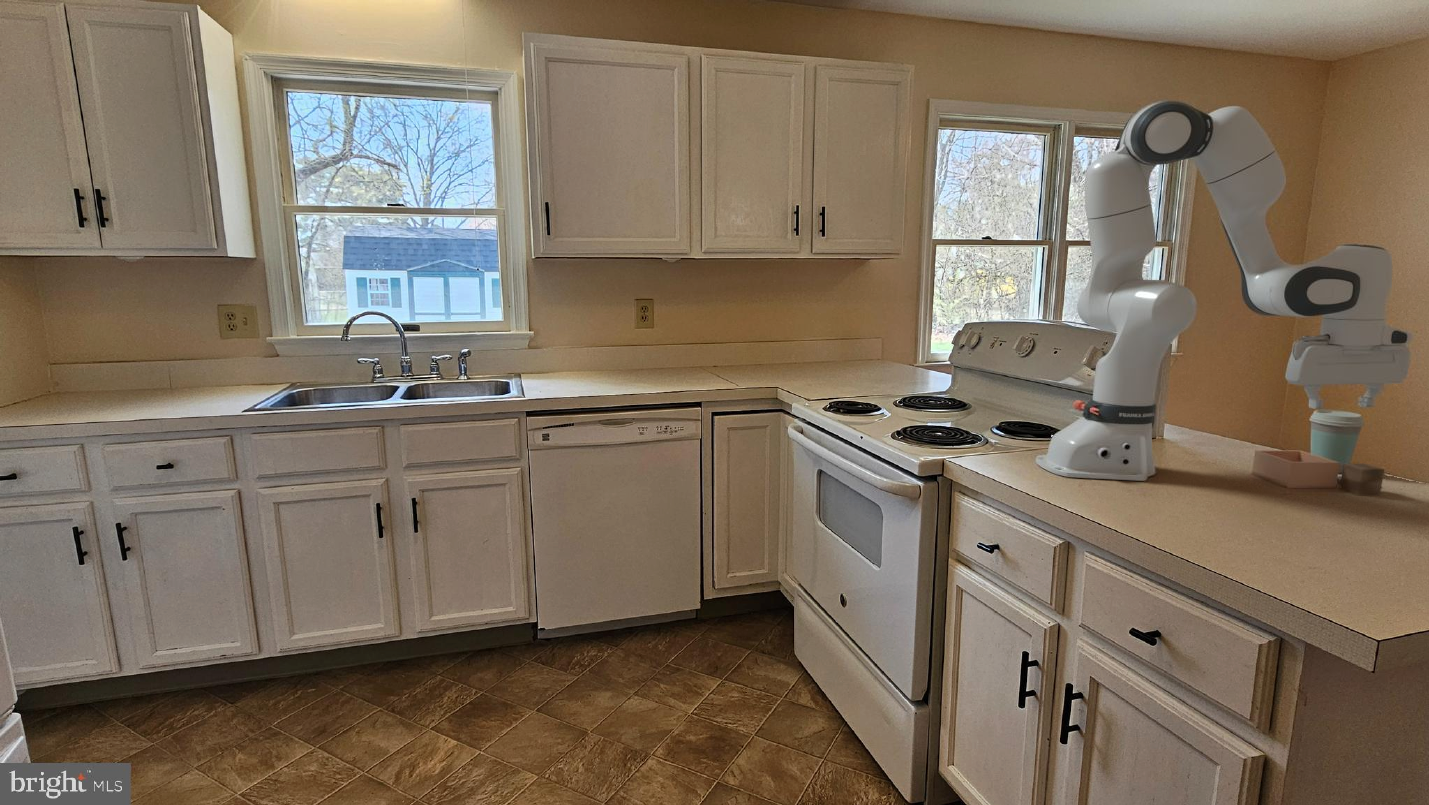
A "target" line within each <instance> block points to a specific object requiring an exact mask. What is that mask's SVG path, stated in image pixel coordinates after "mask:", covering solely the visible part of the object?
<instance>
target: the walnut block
mask: <svg viewBox="0 0 1429 805" xmlns="http://www.w3.org/2000/svg"><path fill="white" fill-rule="evenodd" d="M1384 473H1385V469H1384V468H1381V467H1379V466H1374V465H1371V464H1367V463H1350V464H1344V465H1343V471H1342V473H1341V476H1342V477H1341V483H1339V484H1340V485H1339V490H1342V491H1344V492H1348V493H1350V494H1354V495H1357V496H1380V495H1381V491H1382V485H1383V479H1384Z"/></svg>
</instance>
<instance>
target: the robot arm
mask: <svg viewBox="0 0 1429 805" xmlns="http://www.w3.org/2000/svg"><path fill="white" fill-rule="evenodd" d="M1182 160H1188V161H1190V162H1192V163H1193V165H1194V166H1195V167H1196V169H1198V171H1199V173H1200V175H1201V178H1202V179H1203V182H1204V183H1205V185H1206V187H1207V189H1208V192H1209V194H1210V195H1211V198H1212V199H1213V201H1214V202H1213V203H1215V205H1216V208H1217V210H1218V211H1217V212H1218V214H1219V218H1220V224H1221V225H1222V228H1223V231H1224V233H1225V236H1226V239H1227V241H1228V243H1229V246H1230V249H1231V250H1232V253H1233V256H1234V258H1235V261H1236V263H1237V266H1238V270H1239V271H1240V276H1241V295H1242V300H1243V302H1244V304H1245V306H1246V307H1248V309H1250V310H1251V311H1252V313H1253V312H1254V313H1256V314H1258V315H1261V316H1267V317H1268V316H1269V317H1273V316H1284V317H1291V318H1292V317H1297V318H1313V317H1318V316H1322V318H1321V326H1320V332H1319V334H1316V335H1302V336H1301V337H1300V338H1298V339H1297V340H1295V341H1294V342H1293V344H1292V350H1291V353H1290V356H1289V359H1288V362H1287V366H1286V370H1285V375H1284V376H1285V381H1286V382H1287V383H1288V384H1291V385H1295V386H1303V387H1304V388H1303V390H1304V391H1305V393H1306V396H1307V398H1308V408H1309V409H1314V410H1323V409H1324V408H1325V405H1324V404H1325V401H1326V400H1325V399H1324V398H1323V399H1322V398H1321V397H1320V395H1319V392H1320V391H1322V386H1338V385H1341V386H1343V385H1365V388H1366V389H1367V390H1366V392H1365V393H1364V394H1363V396H1359V397H1358V403H1357V406H1358V407H1361V408H1373V407H1375V400H1376V399H1377V398H1378V396H1379V395H1380V394H1381V393H1382V392H1383V390H1384V386H1385V384H1387V385H1388V384H1401V383H1403V382H1404V381H1405V380H1406V379H1407V377H1408V375H1409V369H1410V361H1411V350H1410V348H1409V347H1408V345H1410V344H1411V343H1412V340H1413V334H1412V333H1411V332H1409V331H1407V330H1403V329H1399V328H1397V327H1393V326H1390V325H1386V322H1387V313H1386V303H1387V302H1388V299H1389V297H1390V295H1391V289H1392V281H1393V258H1392V256H1391V253H1390V251H1388V250H1387V249H1385V248H1384V247H1380V246H1376V245H1370V244H1357V243H1355V244H1354V243H1353V244H1346V243H1345V244H1341V245H1339V246H1337V247H1336V248H1335V249H1334V250H1332V251H1330V252H1329V253H1327V254H1325V255H1323V256H1321V257H1319V258H1316V259H1314V260H1311V261H1307V262H1305V263H1304V264H1301V263H1300V264H1290V263H1288V262H1286V261H1284V260H1283V259H1282V258H1280V256H1279V255H1278V252H1277V250H1276V247H1275V245H1274V241H1273V239H1272V237H1271V235H1270V232H1269V230H1268V227H1267V223H1266V216H1267V212H1268V211H1269V209H1270V207H1271V206H1273V205H1274V204H1275V203H1276V201H1278V199H1279V198H1280V197H1281V196H1282V194H1283V192H1284V189H1286V188H1285V187H1286V184H1287V178H1286V177H1287V176H1286V171H1285V167H1284V165H1283V162H1282V160H1281V157H1280V156H1279V154H1278V151H1277V150H1276V148H1275V147H1274V144H1273V143H1272V141H1271V139H1270V138H1269V136H1268V134H1267V133H1266V131H1265V130H1264V129H1263V127H1262V126H1261V125H1260V123H1259V122H1258V121H1257V119H1256V118H1255V117H1254V115H1252V114H1251V112H1249V110H1248V109H1246V108H1245V107H1242V106H1239V105H1231V106H1224V107H1221V108H1218V109H1216V110H1213V111H1211V112H1210V113H1206V112H1203V111H1202V110H1199V108H1195V107H1193V105H1190V104H1188V103H1186V102H1182V101H1178V100H1159V101H1155V102H1152V103H1149V104H1147V105H1145V106H1143V107H1141V108H1139V110H1137V111H1136V112H1134V113H1133V114H1132V115H1131V116H1130V118H1129V119H1128V120H1127V122H1126V123H1125V125H1124V126H1123V129H1122V132H1121V133H1120V137H1119V139H1118V141H1117V144H1116V146H1115V149H1114V151H1112V152H1109V153H1106V154H1103V155H1101V156H1099V157H1098V158H1097V159H1095V160H1094V161H1092V162H1091V163H1090V164H1089V166H1088V167H1087V169H1086V171H1085V177H1084V178H1085V179H1084V204H1085V214H1086V220H1087V226H1088V235H1089V241H1090V249H1091V265H1090V272H1089V278H1088V282H1087V284H1086V286H1085V288H1083V290H1082V292H1080V294H1079V296H1078V300H1077V304H1076V308H1077V314H1078V316H1079V318H1080V319H1081V321H1082V322H1084V323H1085V324H1086V325H1088V326H1090V327H1092V328H1095V329H1097V330H1099V331H1101V332H1102V331H1103V332H1107V333H1115V334H1116V336H1115V339H1114V342H1113V344H1112V345H1111V348H1110V350H1109V351H1108V352H1107V354H1105V355H1103V356H1102V357H1101V358H1099V359H1098V360H1097V362H1096V365H1095V371H1094V372H1095V373H1094V380H1093V381H1094V382H1093V391H1092V398H1091V399H1090V400H1089V401H1088V402H1087V403H1086V402H1084V401H1081V400H1079V399H1077V400H1074V402H1073V404H1072V408H1073V409H1074V410H1078V411H1079V412H1083V413H1082V417H1080V418H1078V419H1076V420H1075V421H1074V422H1072V423H1071V424H1069V425H1068V426H1066V427H1064V428H1063V429H1062V428H1061V429H1060V430H1059V431H1057V432H1056V433H1054V434H1053V436H1052V437H1051V439H1050V441H1049V445H1048V450H1047V453H1046V454H1040V455H1037V456H1036V457H1035V463H1036V464H1037V465H1038V466H1039V467H1041V468H1042V469H1044V470H1046V471H1048V472H1050V473H1053V474H1055V475H1058V476H1063V477H1065V478H1066V477H1067V478H1080V479H1081V478H1082V479H1097V480H1098V479H1104V480H1117V481H1119V480H1120V481H1121V480H1122V481H1137V482H1138V481H1140V482H1141V481H1142V482H1145V481H1147V480H1148V477H1151V476H1154V475H1155V474H1156V473H1157V472H1156V468H1155V463H1154V458H1153V441H1152V438H1153V429H1154V426H1155V422H1156V414H1157V412H1156V411H1157V405H1156V403H1155V399H1156V390H1157V384H1158V378H1159V371H1160V367H1161V364H1162V361H1163V359H1164V357H1165V354H1166V352H1167V350H1168V349H1169V347H1170V346H1171V344H1172V343H1173V341H1174V340H1175V339H1176V338H1177V337H1178V336H1179V335H1180V334H1181V333H1183V332H1184V331H1186V330H1187V329H1188V328H1189V327H1190V326H1191V325H1192V324H1193V322H1194V320H1195V317H1196V315H1197V309H1198V308H1197V307H1198V305H1197V304H1198V303H1197V299H1196V296H1195V295H1194V293H1193V292H1192V291H1191V289H1189V288H1188V287H1187V286H1184V285H1181V284H1179V283H1176V282H1172V281H1169V280H1164V279H1144V278H1143V268H1144V263H1145V259H1146V258H1147V256H1148V255H1149V254H1150V253H1151V252H1152V251H1153V250H1154V249H1155V247H1156V244H1157V234H1156V226H1155V221H1154V214H1153V205H1152V199H1151V195H1150V188H1149V187H1150V177H1151V174H1152V172H1153V170H1154V169H1155V168H1156V166H1158V165H1160V166H1161V165H1162V166H1163V165H1167V164H1172V163H1173V164H1174V163H1177V162H1180V161H1182Z"/></svg>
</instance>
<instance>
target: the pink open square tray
mask: <svg viewBox="0 0 1429 805" xmlns="http://www.w3.org/2000/svg"><path fill="white" fill-rule="evenodd" d="M1339 465H1340V462H1337V461H1333V460H1330V459H1327V458H1324V457H1320V456H1317V455H1314V454H1311V452H1308V451H1307V452H1306V451H1304V450H1301V449H1300V450H1299V449H1298V450H1297V449H1296V450H1294V449H1293V450H1289V449H1288V450H1286V449H1283V450H1279V449H1278V450H1276V449H1275V450H1274V449H1273V450H1269V449H1268V450H1267V449H1266V450H1261V449H1260V450H1258V449H1257V450H1254V456H1253V464H1252V470H1251V475H1252V476H1255V477H1259V478H1261V479H1263V480H1266V481H1269V482H1272V483H1274V484H1276V485H1279V486H1282V487H1285V488H1287V489H1311V488H1312V489H1331V488H1332V489H1335V488H1336V487H1337V483H1338V482H1337V477H1339V473H1338V471H1339Z"/></svg>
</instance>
